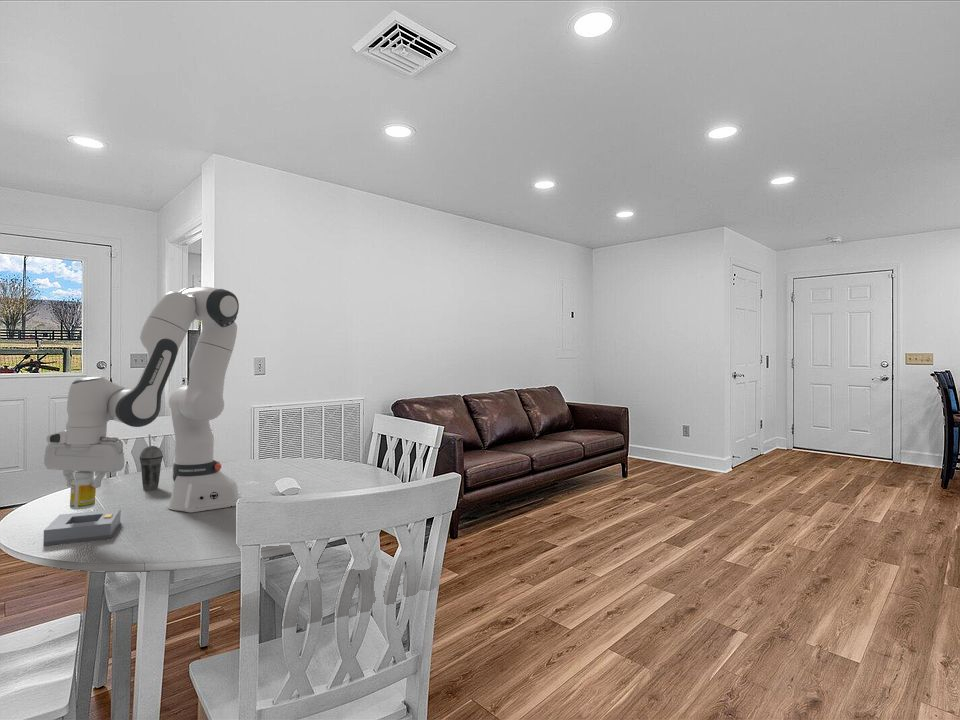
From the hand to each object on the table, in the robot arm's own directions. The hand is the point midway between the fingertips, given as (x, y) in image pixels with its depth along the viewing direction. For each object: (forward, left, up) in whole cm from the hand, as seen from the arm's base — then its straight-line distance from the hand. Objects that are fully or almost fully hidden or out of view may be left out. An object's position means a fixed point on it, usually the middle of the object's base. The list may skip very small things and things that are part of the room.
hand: (83, 486), depth 137 cm
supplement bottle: (0, 0, -6) cm, 6 cm away
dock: (0, 0, -13) cm, 13 cm away
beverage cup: (-10, -47, -13) cm, 50 cm away
